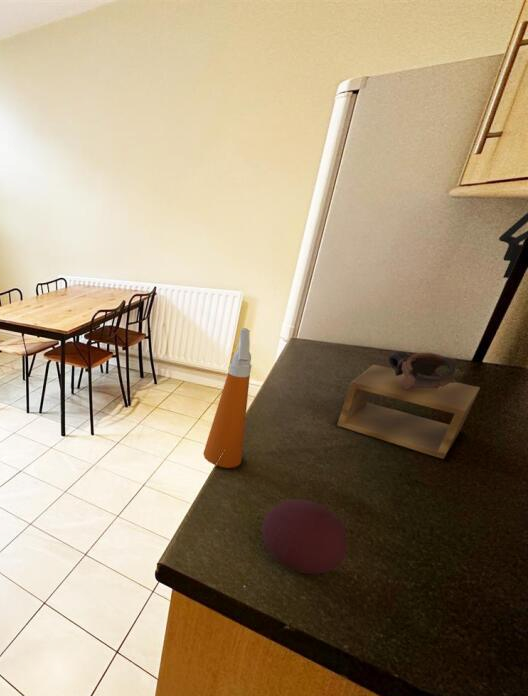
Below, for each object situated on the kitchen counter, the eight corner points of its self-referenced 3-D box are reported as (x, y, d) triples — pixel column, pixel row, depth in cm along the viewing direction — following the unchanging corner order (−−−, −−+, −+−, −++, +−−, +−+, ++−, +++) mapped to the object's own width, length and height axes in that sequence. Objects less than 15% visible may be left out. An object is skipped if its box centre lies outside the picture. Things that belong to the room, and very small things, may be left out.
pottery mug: (457, 389, 87) (474, 364, 81) (421, 413, 86) (436, 390, 80) (397, 359, 95) (408, 334, 89) (364, 380, 95) (373, 357, 89)
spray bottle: (239, 444, 89) (265, 326, 79) (241, 471, 80) (271, 343, 70) (204, 437, 92) (224, 323, 82) (202, 464, 83) (225, 339, 73)
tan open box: (459, 432, 91) (480, 387, 86) (443, 459, 82) (466, 410, 78) (359, 404, 104) (373, 364, 100) (336, 425, 95) (351, 382, 91)
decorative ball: (283, 593, 56) (301, 537, 52) (242, 538, 65) (255, 486, 61) (354, 588, 56) (378, 532, 52) (304, 534, 65) (321, 482, 61)
